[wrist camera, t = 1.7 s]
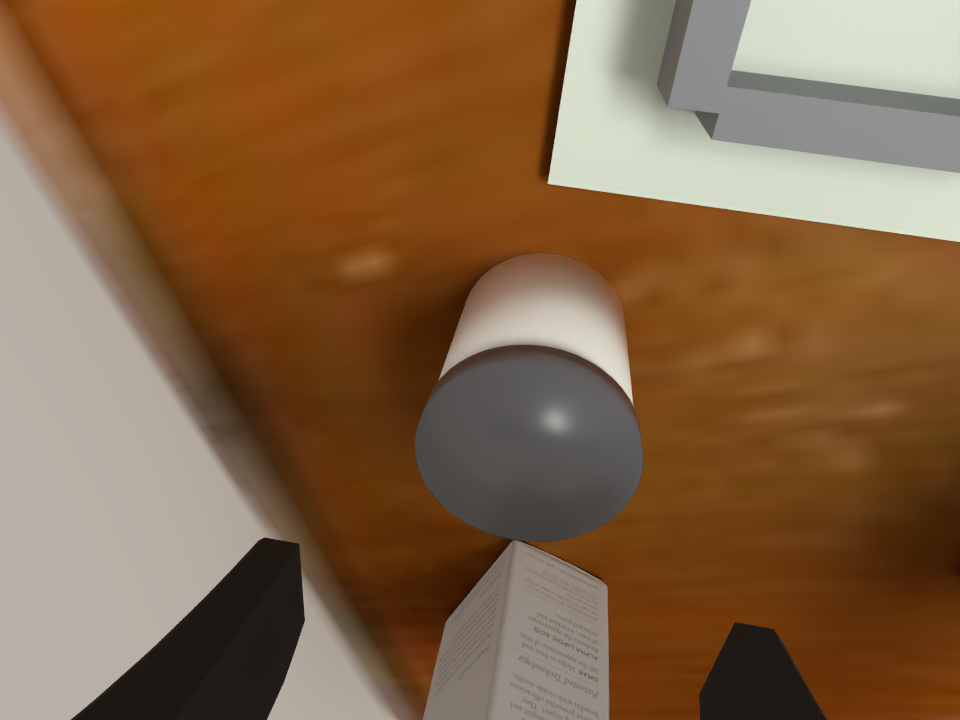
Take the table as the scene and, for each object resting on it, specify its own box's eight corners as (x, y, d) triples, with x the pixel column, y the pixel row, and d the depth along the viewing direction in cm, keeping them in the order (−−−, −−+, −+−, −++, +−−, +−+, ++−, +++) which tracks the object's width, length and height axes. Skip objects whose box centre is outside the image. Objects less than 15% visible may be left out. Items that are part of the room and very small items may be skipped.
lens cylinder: (646, 264, 18) (669, 386, 13) (609, 409, 21) (615, 557, 16) (466, 237, 18) (420, 347, 13) (452, 383, 21) (410, 521, 16)
